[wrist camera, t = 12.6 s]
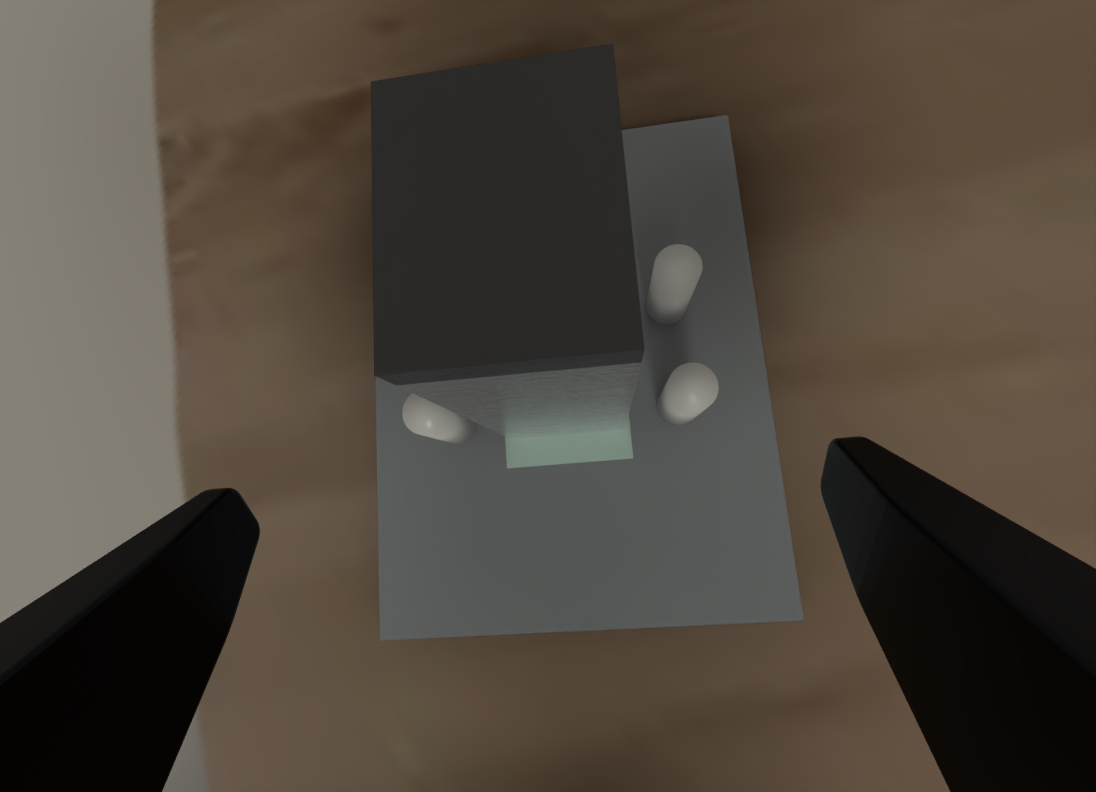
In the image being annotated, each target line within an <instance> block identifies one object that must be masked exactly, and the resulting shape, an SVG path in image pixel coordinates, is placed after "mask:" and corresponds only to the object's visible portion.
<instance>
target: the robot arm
mask: <svg viewBox="0 0 1096 792" xmlns="http://www.w3.org/2000/svg"><path fill="white" fill-rule="evenodd" d="M821 492H822V497H823V500H824V503H825V506H826V509H827V512H828V514H829V517H830V520H831V523H832V526H833V529H834V532H835V535H836V538H837V540H838V543H839V546H840V549H841V552H842V555H843V558H844V561H845V564H846V567H847V569H848V572H849V575H850V578H851V581H852V583H853V586H854V589H855V591H856V594H857V597H858V599H859V601H860V603H861V606H862V608H863V610H864V612H865V614H866V616H867V619H868V621H869V623H870V625H871V627H872V629H873V631H874V633H875V635H876V637H877V639H878V641H879V644H880V646H881V648H882V650H883V652H884V654H885V656H886V658H887V660H888V662H889V664H890V667H891V669H892V671H893V673H894V675H895V677H896V679H897V681H898V683H899V685H900V687H901V689H902V692H903V694H904V696H905V698H906V700H907V702H908V704H909V706H910V708H911V710H912V712H913V715H914V717H915V719H916V721H917V723H918V725H919V727H920V729H921V731H922V733H923V735H924V737H925V740H926V742H927V744H928V746H929V748H930V750H931V752H932V754H933V756H934V758H935V760H936V763H937V765H938V767H939V769H940V771H941V773H942V775H943V777H944V779H945V781H946V783H947V785H948V788H949V790H950V792H1096V569H1095V568H1093V567H1092V566H1090V565H1088V564H1086V563H1085V562H1083V561H1081V560H1079V559H1078V558H1076V557H1074V556H1072V555H1071V554H1069V553H1067V552H1065V551H1064V550H1062V549H1060V548H1058V547H1057V546H1055V545H1053V544H1051V543H1050V542H1048V541H1046V540H1044V539H1043V538H1041V537H1039V536H1037V535H1036V534H1034V533H1032V532H1030V531H1029V530H1027V529H1025V528H1023V527H1022V526H1020V525H1018V524H1016V523H1015V522H1013V521H1011V520H1009V519H1008V518H1006V517H1004V516H1002V515H1001V514H999V513H997V512H995V511H994V510H992V509H990V508H988V507H987V506H985V505H983V504H981V503H980V502H978V501H976V500H974V499H973V498H971V497H969V496H967V495H966V494H964V493H962V492H960V491H959V490H957V489H955V488H953V487H952V486H950V485H948V484H946V483H945V482H943V481H941V480H939V479H938V478H936V477H934V476H932V475H931V474H929V473H927V472H925V471H924V470H922V469H920V468H918V467H917V466H915V465H913V464H911V463H910V462H908V461H906V460H904V459H903V458H901V457H899V456H897V455H896V454H894V453H892V452H890V451H889V450H887V449H885V448H883V447H882V446H880V445H878V444H876V443H875V442H873V441H871V440H869V439H867V438H865V437H846V438H836V439H834V440H832V441H831V442H830V444H829V446H828V450H827V455H826V459H825V464H824V469H823V474H822V478H821ZM259 534H260V528H259V524H258V521H257V520H256V518H255V516H254V515H253V513H252V512H251V510H250V509H249V507H248V506H247V504H246V503H245V501H244V500H243V498H242V496H241V495H240V494H239V492H238V491H236V490H235V489H232V488H220V489H210V490H206V491H203V492H202V493H200V494H198V495H197V496H195V497H194V498H192V499H191V500H189V501H188V502H186V503H185V504H183V505H182V506H180V507H178V508H177V509H175V510H174V511H172V512H171V513H169V514H168V515H166V516H165V517H163V518H162V519H160V520H158V521H157V522H155V523H154V524H152V525H151V526H149V527H148V528H146V529H145V530H143V531H141V532H140V533H138V534H137V535H135V536H134V537H132V538H131V539H129V540H128V541H126V542H125V543H123V544H121V545H120V546H118V547H117V548H115V549H114V550H112V551H111V552H109V553H108V554H106V555H104V556H103V557H102V558H100V559H98V560H97V561H95V562H94V563H92V564H91V565H89V566H87V567H86V568H84V569H83V570H81V571H80V572H78V573H77V574H75V575H74V576H72V577H70V578H69V579H68V580H66V581H65V582H63V583H61V584H60V585H58V586H57V587H55V588H54V589H52V590H50V591H49V592H47V593H46V594H44V595H43V596H41V597H40V598H38V599H37V600H35V601H33V602H32V603H30V604H29V605H27V606H26V607H24V608H23V609H21V610H20V611H18V612H17V613H15V614H14V615H12V616H10V617H9V618H7V619H6V620H4V621H3V622H1V623H0V792H162V790H163V788H164V785H165V783H166V781H167V779H168V776H169V774H170V771H171V769H172V767H173V764H174V762H175V760H176V757H177V755H178V752H179V750H180V748H181V745H182V743H183V740H184V738H185V736H186V733H187V731H188V729H189V726H190V724H191V722H192V719H193V717H194V714H195V712H196V710H197V707H198V705H199V703H200V700H201V698H202V696H203V693H204V691H205V688H206V686H207V684H208V681H209V679H210V677H211V674H212V672H213V669H214V667H215V665H216V662H217V660H218V658H219V655H220V653H221V650H222V648H223V646H224V643H225V641H226V638H227V636H228V633H229V631H230V628H231V625H232V622H233V619H234V616H235V613H236V610H237V607H238V604H239V600H240V597H241V594H242V591H243V588H244V584H245V581H246V578H247V575H248V572H249V568H250V565H251V562H252V559H253V556H254V552H255V549H256V546H257V543H258V540H259Z"/></svg>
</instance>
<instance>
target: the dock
mask: <svg viewBox="0 0 1096 792" xmlns="http://www.w3.org/2000/svg"><path fill="white" fill-rule="evenodd" d="M622 137H623V147H624V156H625V166H626V175H627V185H628V194H629V204H630V214H631V223H632V233H633V242H634V252H635V262H636V271H637V281H638V290H639V300H640V310H641V319H642V329H643V338H644V348H645V350H644V354H643V358H642V362H641V367H640V371H639V375H638V379H637V383H636V387H635V391H634V395H633V399H632V403H631V407H630V411H629V415H628V419H627V423H626V427H625V430H615V431H603V432H590V433H578V434H566V435H553V436H541V437H529V438H516V439H510V438H508V437H506V436H504V435H502V434H499V433H497V432H495V431H493V430H491V429H489V428H487V427H484V426H482V425H480V424H478V423H476V422H474V421H471V420H469V419H467V418H465V417H463V416H461V415H458V414H456V413H454V412H452V411H450V410H448V409H445V408H443V407H441V406H439V405H437V404H435V403H433V402H430V401H428V400H426V399H424V398H422V397H420V396H417V395H415V394H413V393H411V392H409V391H407V390H404V389H402V388H400V387H398V386H396V385H394V384H392V383H389V382H387V381H385V380H383V379H381V378H379V377H376V376H375V378H376V437H377V496H378V555H379V614H380V640H400V639H421V638H442V637H464V636H485V635H506V634H528V633H549V632H570V631H591V630H613V629H634V628H655V627H676V626H698V625H719V624H740V623H762V622H783V621H804V619H803V612H802V605H801V599H800V592H799V585H798V579H797V572H796V565H795V559H794V552H793V545H792V539H791V532H790V525H789V519H788V512H787V505H786V499H785V492H784V485H783V479H782V472H781V465H780V459H779V452H778V445H777V439H776V432H775V426H774V419H773V412H772V406H771V399H770V392H769V386H768V379H767V372H766V366H765V359H764V352H763V346H762V339H761V332H760V326H759V319H758V312H757V306H756V299H755V292H754V286H753V279H752V272H751V266H750V259H749V252H748V246H747V239H746V232H745V226H744V219H743V212H742V206H741V199H740V192H739V186H738V179H737V172H736V166H735V159H734V152H733V146H732V139H731V132H730V126H729V119H728V115H723V116H716V117H709V118H702V119H696V120H689V121H682V122H675V123H668V124H661V125H654V126H647V127H640V128H633V129H626V130H622Z"/></svg>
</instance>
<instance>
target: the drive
mask: <svg viewBox="0 0 1096 792" xmlns="http://www.w3.org/2000/svg"><path fill="white" fill-rule="evenodd" d="M371 133H372V218H373V304H374V376H376V377H379V378H381V379H383V380H385V381H387V382H389V383H392V384H394V385H396V386H398V387H400V388H402V389H404V390H407V391H409V392H411V393H413V394H415V395H417V396H420V397H422V398H424V399H426V400H428V401H430V402H433V403H435V404H437V405H439V406H441V407H443V408H445V409H448V410H450V411H452V412H454V413H456V414H458V415H461V416H463V417H465V418H467V419H469V420H471V421H474V422H476V423H478V424H480V425H482V426H484V427H487V428H489V429H491V430H493V431H495V432H497V433H499V434H502V435H504V436H506V437H508V438H510V439H516V438H529V437H541V436H553V435H566V434H578V433H590V432H603V431H615V430H625V427H626V423H627V419H628V415H629V411H630V407H631V403H632V399H633V395H634V391H635V387H636V383H637V379H638V375H639V371H640V367H641V362H642V358H643V354H644V350H645V348H644V338H643V329H642V319H641V310H640V300H639V290H638V281H637V271H636V262H635V252H634V242H633V233H632V223H631V214H630V204H629V194H628V185H627V175H626V166H625V156H624V147H623V137H622V127H621V118H620V108H619V99H618V89H617V79H616V70H615V60H614V51H613V44H608V45H601V46H595V47H589V48H582V49H576V50H570V51H563V52H557V53H550V54H544V55H538V56H531V57H525V58H518V59H512V60H506V61H499V62H493V63H487V64H480V65H474V66H467V67H461V68H455V69H448V70H442V71H436V72H429V73H423V74H416V75H410V76H404V77H397V78H391V79H385V80H378V81H372V82H371Z"/></svg>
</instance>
